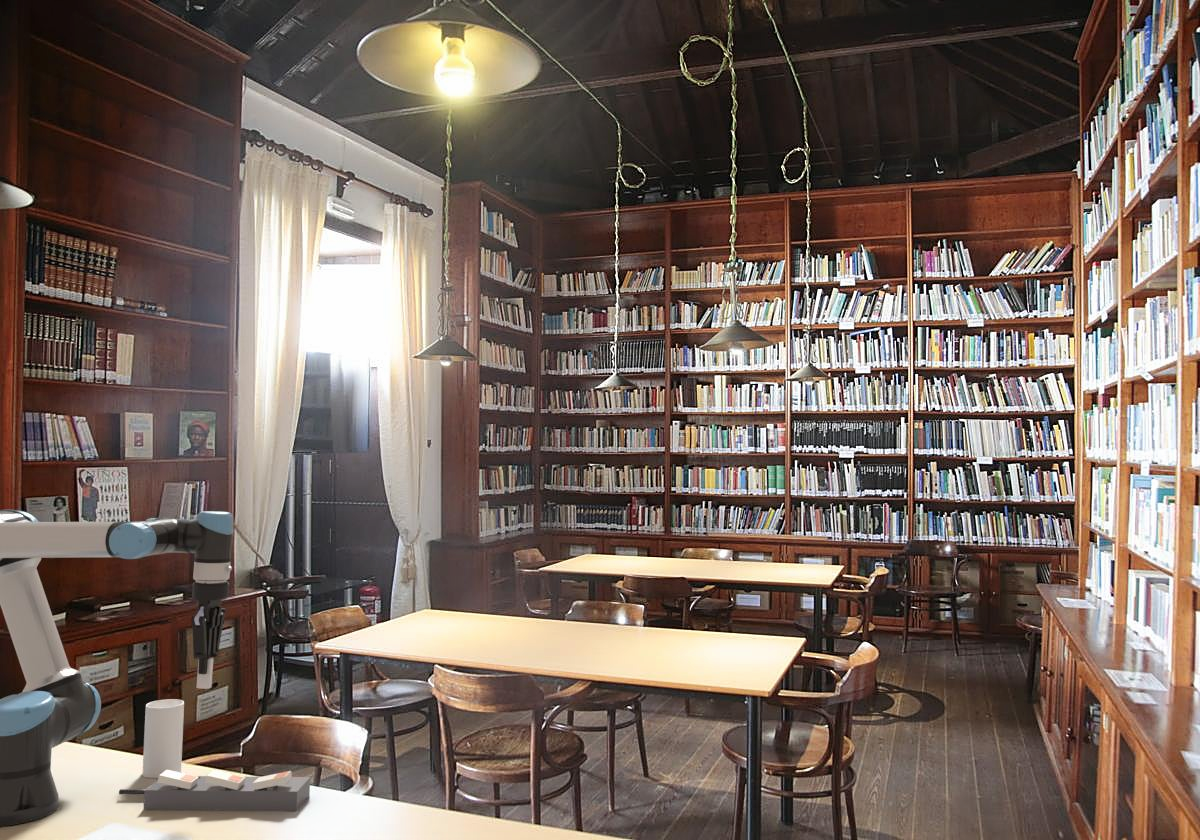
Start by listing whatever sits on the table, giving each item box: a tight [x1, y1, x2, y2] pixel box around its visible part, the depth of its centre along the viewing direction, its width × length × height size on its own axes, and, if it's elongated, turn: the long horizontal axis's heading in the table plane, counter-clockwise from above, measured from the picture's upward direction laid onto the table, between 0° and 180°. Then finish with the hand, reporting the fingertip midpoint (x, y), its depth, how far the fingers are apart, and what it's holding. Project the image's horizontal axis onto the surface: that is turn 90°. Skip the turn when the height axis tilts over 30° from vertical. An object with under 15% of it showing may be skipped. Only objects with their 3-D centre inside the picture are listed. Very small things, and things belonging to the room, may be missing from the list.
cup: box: [142, 698, 185, 779], centre depth 212 cm, size 8×8×16 cm
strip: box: [118, 775, 311, 812], centre depth 193 cm, size 40×9×4 cm, turn 91°
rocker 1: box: [157, 770, 199, 789], centre depth 191 cm, size 7×4×2 cm, turn 91°
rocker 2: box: [205, 769, 247, 790], centre depth 191 cm, size 7×4×2 cm, turn 91°
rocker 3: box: [253, 770, 293, 790], centre depth 191 cm, size 7×4×2 cm, turn 92°
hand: (204, 687), depth 199 cm, fingers closed
